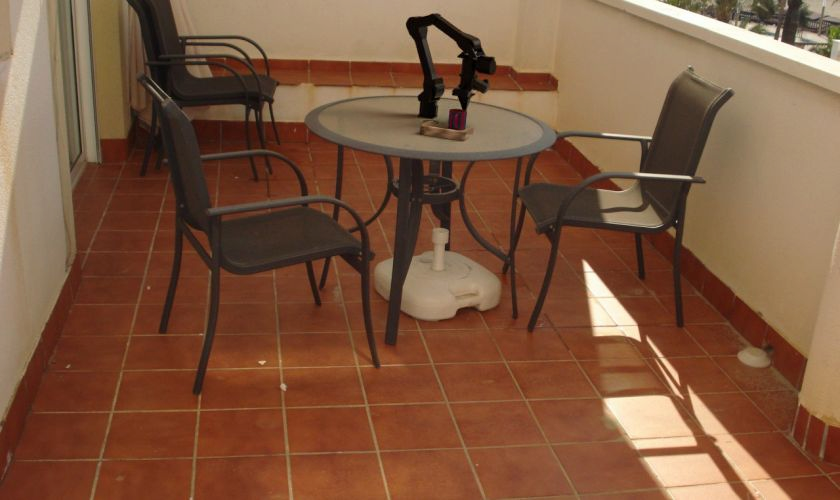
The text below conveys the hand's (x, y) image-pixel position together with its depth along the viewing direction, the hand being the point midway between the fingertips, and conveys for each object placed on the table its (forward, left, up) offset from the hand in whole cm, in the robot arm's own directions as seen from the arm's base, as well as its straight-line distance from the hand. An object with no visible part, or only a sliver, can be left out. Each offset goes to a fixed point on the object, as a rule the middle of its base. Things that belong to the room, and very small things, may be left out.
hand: (464, 111), depth 353 cm
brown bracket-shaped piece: (0, -22, -5) cm, 22 cm away
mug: (0, -11, -5) cm, 12 cm away
